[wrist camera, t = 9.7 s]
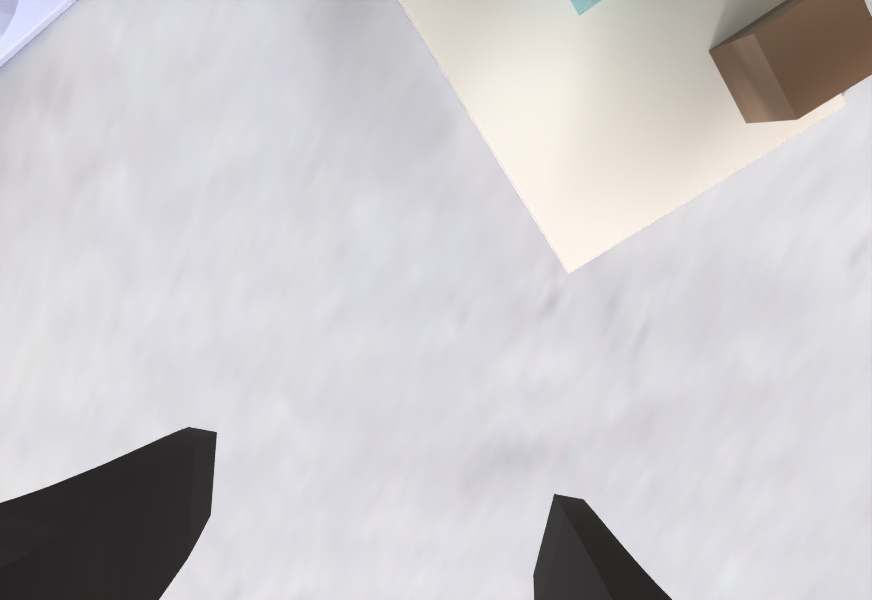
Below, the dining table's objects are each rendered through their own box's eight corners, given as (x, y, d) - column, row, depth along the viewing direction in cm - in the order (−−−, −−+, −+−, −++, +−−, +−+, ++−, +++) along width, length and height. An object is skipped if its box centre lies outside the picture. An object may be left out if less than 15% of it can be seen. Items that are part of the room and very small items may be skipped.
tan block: (708, 51, 18) (754, 33, 15) (787, -1, 17) (850, -30, 15) (746, 123, 18) (797, 119, 16) (824, 75, 18) (891, 61, 15)
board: (354, -70, 18) (351, -76, 18) (640, -299, 16) (646, -313, 16) (566, 270, 21) (568, 273, 20) (836, 106, 19) (846, 105, 18)
